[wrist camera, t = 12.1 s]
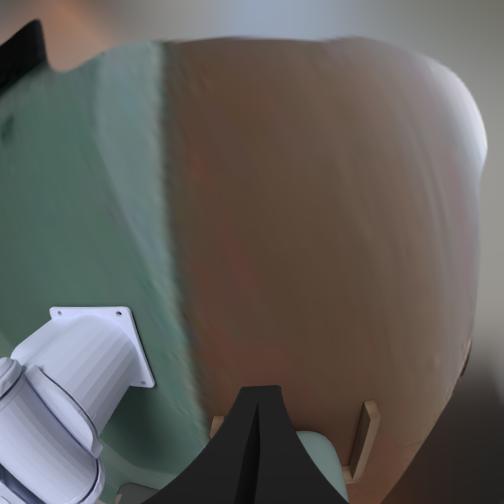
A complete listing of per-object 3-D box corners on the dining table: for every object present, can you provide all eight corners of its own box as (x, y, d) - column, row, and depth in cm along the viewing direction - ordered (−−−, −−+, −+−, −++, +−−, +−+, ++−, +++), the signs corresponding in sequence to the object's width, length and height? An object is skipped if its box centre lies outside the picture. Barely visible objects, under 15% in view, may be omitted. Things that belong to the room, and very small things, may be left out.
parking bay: (235, 478, 26) (234, 493, 23) (213, 415, 22) (209, 435, 20) (355, 467, 24) (359, 481, 22) (373, 399, 21) (381, 417, 19)
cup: (340, 416, 22) (361, 501, 12) (329, 456, 24) (340, 527, 14) (258, 421, 22) (253, 511, 13) (260, 461, 24) (256, 534, 15)
